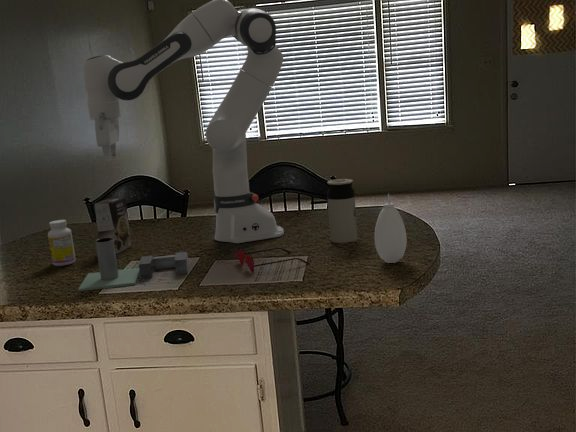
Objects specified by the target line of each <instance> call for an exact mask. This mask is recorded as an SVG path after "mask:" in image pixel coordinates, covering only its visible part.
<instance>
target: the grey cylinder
mask: <svg viewBox="0 0 576 432" xmlns="http://www.w3.org/2000/svg"><path fill="white" fill-rule="evenodd" d="M95 248H96V255H97V261H98V262H97V263H98V269H99V272H100V276H101V279H102V280H112V279H115V278H117V277H118V270H119V269H118V261H117V255H116V254H115V247H114V240H113V238H102V239H99V238H98V239H96V240H95Z"/></svg>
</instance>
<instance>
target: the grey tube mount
mask: <svg viewBox="0 0 576 432" xmlns="http://www.w3.org/2000/svg"><path fill="white" fill-rule="evenodd" d="M187 252H188V251H181V252H175V254H169V255H163V256H160V255H159V256H154V255H146V256H141V257H140V260H139V263H138V268H139V271H140V273H139V278H140V280H144V279H145V280H146V279H152V278H153V277H154V273H155V271H156V270H162V269H171V268H174V269H175V276H181V275H188V274H189V258H188V253H187Z"/></svg>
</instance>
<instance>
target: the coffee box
mask: <svg viewBox="0 0 576 432" xmlns="http://www.w3.org/2000/svg"><path fill="white" fill-rule="evenodd" d="M94 210H95V218H96V226H97V233H98V239H102V238H113V240H114V247H115V254H120V253H122V252H124V251H126V250H127V249H129V248H131V247H132V241H131V240H132V238H131V233H130V232H131V231H130V226H129V225H130V224H129V217H128V216H129V215H128V208H127V202H126V197H115V198H114V197H112V198H107V199H103V200H100V201H98V202H95V203H94Z"/></svg>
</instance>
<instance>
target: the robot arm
mask: <svg viewBox="0 0 576 432" xmlns="http://www.w3.org/2000/svg"><path fill="white" fill-rule="evenodd" d="M276 25H277V24H276V23H275V20H274V18H273V17H272V16H271V14H269V13H268V12H266V11H265V10H263V9H260V8H255V7H252V8H251V7H250V8H235V6H234V5H233V3H231V2H230V1H229V0H210V1H208V2H206V3H205V4H202V5H201V6H200V7H198V8H197V9H195V10H193V11H192V12H191V13H190V14H189V13H188V15H187V16H186V17H184V18H183V19H182V20H181V21H180V22H179V23H178V24H177V25H176V26H175V27H174V28H173V29H172V30H171V32H169V34H168V35H167V36H166V37H165V38H164V39H163V40H162V41H161V42H159V43H158V44H157V45H155V46H154V47H152V48H151V49H150V50H148V51H147V52H145V53H144V54H143V55H141V56H139V57H138V58H137V59H135V60H132V61H126V62H123V61H121V60H118V59H116V58H113V57H112V56H111V55H110V54H100V55H95V56H92V57H90V58H88V59H87V60H86V61H85V62H84V65H83V77H84V78H83V79H84V88H85V91H86V94H87V109H88V115H89V120H93V121H94V129H95V139H96V145H97V147H99V148H100V147H101V149H102V150H101V151H102V153H103V156H104V161H105V162H111V161H112V160H113V159H116V158H117V142H119V141H120V125H119V124H120V122H119V118H121V109H120V102H119V101H120V100H122V101H132V100H135V99H139V98H142V97H143V96H144V95H145V94H146V93H147V91H148V90H149V87H150V81H151V79H152V78H154V77H156V76H158V74H160V73H161V72H162V71H164V70H165V69H166V68H169V67H170V66H171V65H172V64H173V63H175V62H177V61H180V60H184V59H188V58H193V57H196V56H199V55H201V54H203V53H204V52H207V51H208V50H211V48H213V47H215V45H217V44H218V43H219V42H220V41H222V40H223V39H226V38H228V37H231V36H232V37H233V38H234V39H235V40H236V41H238V42H239V43H241V44H242V45H244V46H246V47H247V54H246V58H245V61H244V63H243V64H242V66H241V67H240V69H239V72H238V74H237V75H236V77H235V79H234V81H233V82H232V84H231V87H230V88H229V90H228V92H227V93H226V95H225V96H224V98H223V99H222V101H221V103H220V104H219V106H218V107H217V109H216V111H215V112H214V114H213V115H212V117H211V120H210V121H209V123H208V124H207V126H206V129H205V139H206V142H207V144H208V145H209V146H210V148H211V149H212V172H211V173H212V178H213V179H212V180H213V190H214V195H213V206H214V211H215V213H216V214H215V215H216V216H215V217H216V218H215V220H216V221H215V222H216V223H215V233H214V240H215V241H218V242H222V243H223V242H226V243H233V244H240V243H246V242H253V241H260V240H267V239H272V238H279V237H280V238H281V237H282V236H283V235H284V234H285V231H284V228H283V227H281V226H280V225H277V221H276V219H275V218H276V217H275V216H274V214H273V213H272V212H271V211H269V210H268V209H266V208H265V207H263V206H262V205H260V204H258V203H257V202H258V201H259V195H258V194H256V193H254V192H252V191H250V182H249V174H248V152H247V150H248V149H247V131H248V129H249V128H250V126H251V125H252V123H253V121H254V120H255V118H256V116H257V114H258V113H259V112H260V110H261V108H262V106H263V104H264V103H265V101H266V99H267V97H268V95H269V94H270V92H271V89H272V88H273V86H274V85H275V83H276V80H277V78H278V76H279V73H280V72H281V69H282V65H283V63H284V55H283V52H281V50H280V49H279V48H278V46H277V45H276V43H277V42H276V41H277V37H276V36H277V35H276V34H277V26H276ZM119 99H120V100H119Z"/></svg>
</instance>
